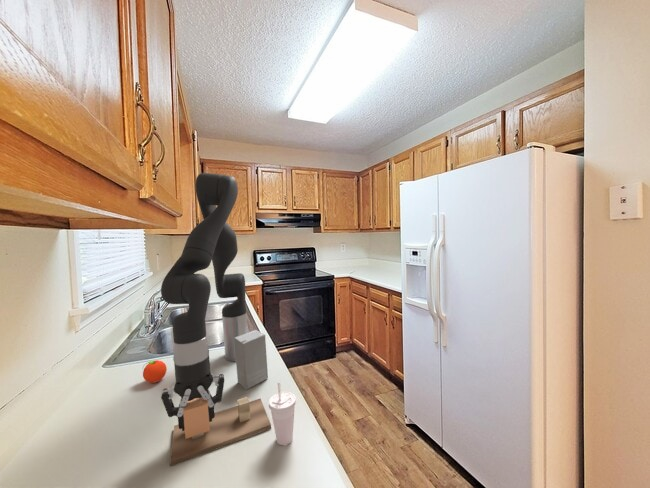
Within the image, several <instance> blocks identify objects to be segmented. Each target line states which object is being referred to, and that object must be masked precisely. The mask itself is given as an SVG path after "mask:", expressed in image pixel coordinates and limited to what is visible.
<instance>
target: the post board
mask: <svg viewBox="0 0 650 488" xmlns="http://www.w3.org/2000/svg"><path fill="white" fill-rule="evenodd" d="M236 402H237V405H235V406H233V407H229V408H225V409H223V410H219V411H216V412H215V417H214V418H213V419H212V421H211V422H209V425H210V431H207V432H204V433H202V434H199V435H196V436H193V437H190V438H187V439H185V430H184V431H182V429H179V425H178V424H175V425H174V426H173V433H172V434H173V435H172V443H171V451H170V459H169V463H170V465H169V466H170V467H172V466H174V465H177V464H179V463H182V462H185V461H187V460H190V459H193V458H196V457H198V456H201V455H204V454H206V453H209V452H211V451H214V450H216V449H219V448H222V447H225V446H228V445H230V444H233V443H235V442H239V441H242V440H244V439H247V438H249V437H252V436H254V435H257V434H259V433H262V432H265V431H268V430H270V429H272V424H271V421H270V419H269V416H268V414H267V411H266V409H265V406H264V403H263V400H262V399H261V397H260V398H257V399H254V400H251V401H250V400H249V397H248V396H245V397H242V398H240V399H237V401H236Z"/></svg>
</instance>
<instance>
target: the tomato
mask: <svg viewBox="0 0 650 488" xmlns="http://www.w3.org/2000/svg"><path fill="white" fill-rule="evenodd" d="M167 368H168V367H167V365H166V363H165V362H164V361H163V360H159V359H158V360H157V359H156V360H151V361H147V362H146V363H145V366H144V367H142V369H143V371H142V377H143V379H144V381H146V382H148V383H151V384H154V383H157V382H160V381H161V380H162V379H163V378H164V377H165V376H166V374H167V370H168V369H167Z"/></svg>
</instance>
